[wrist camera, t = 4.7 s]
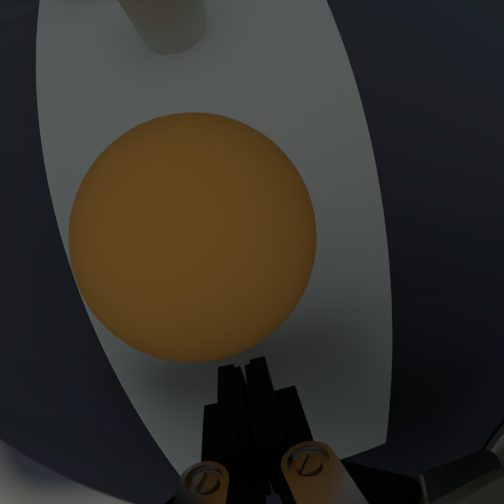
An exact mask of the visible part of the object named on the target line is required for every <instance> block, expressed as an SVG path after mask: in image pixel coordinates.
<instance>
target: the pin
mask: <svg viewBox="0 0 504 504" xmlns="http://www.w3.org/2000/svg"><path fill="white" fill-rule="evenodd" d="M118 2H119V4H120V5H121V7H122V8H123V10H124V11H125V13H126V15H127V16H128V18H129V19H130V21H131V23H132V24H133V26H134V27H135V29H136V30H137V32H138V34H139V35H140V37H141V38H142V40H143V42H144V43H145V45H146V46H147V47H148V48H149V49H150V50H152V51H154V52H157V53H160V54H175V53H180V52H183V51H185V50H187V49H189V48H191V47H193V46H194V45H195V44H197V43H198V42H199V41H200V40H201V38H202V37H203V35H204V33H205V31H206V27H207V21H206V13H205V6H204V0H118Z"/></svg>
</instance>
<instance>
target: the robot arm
mask: <svg viewBox="0 0 504 504" xmlns="http://www.w3.org/2000/svg"><path fill="white" fill-rule="evenodd" d="M245 374H246V381H245V378H244V375H243V372H242V369H241V367H240V366H238V367H235V365H234V364H229V365H224V366H219V367H218V387H217V403H214V404H208V405H205V406H204V414H203V431H202V449H201V462H199V463H196V464H193V465H192V466H190V467H188V468H187V469H186V470H185V471H184V472H183V473H182V475H181V477H180V480H179V483H178V487H177V490H176V494H175V496H174V497H172V498H171V499H170V500H168V501H167V502H166V503H164V504H267V503H266V496H267V495H271V490H270V484H269V480H270V483H271V485H272V487H273V489H274V491H275V493H276V494H279V496H280V498H281V500H282V502H283V504H504V423H503V425H502V426H501V427H500V428H499V430H498V431H497V432H496V434H495V435H494V436H493V437H492V439H491V440H490V442H489V443H488V444H487V446H486V447H485V449H484V450H482V451H478V452H475V453H473V454H470V455H468V456H465V457H463V458H460V459H458V460H455V461H452V462H450V463H447V464H444V465H441V466H438V467H435V468H432V469H429V470H426V471H422V473H421V474H420V475H417V476H413V477H408V476H406V475H401V474H396V473H391V472H386V471H382V470H378V469H374V468H370V467H366V466H362V465H358V464H354V463H351V462H347V461H344V460H341V459H339V458H338V457H337V455H336V454H335V452H334V451H333V449H332V448H331V447H330V446H329V445H327V444H325V443H323V442H318V441H314V440H313V437H312V434H311V431H310V428H309V425H308V422H307V419H306V416H305V413H304V410H303V407H302V404H301V401H300V398H299V395H298V392H297V389H296V386H295V385H293V386H290V387H286V388H282V389H278V390H274V387H273V384H272V380H271V377H270V373H269V370H268V366H267V363H266V359H265V356H263V357H259V358H255V359H250V364H247V365H245ZM246 382H247V384H246Z"/></svg>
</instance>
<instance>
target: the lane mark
mask: <svg viewBox="0 0 504 504" xmlns="http://www.w3.org/2000/svg"><path fill="white" fill-rule="evenodd" d="M204 6H205V13H206V21H207V27H206V31H205V33H204V35H203V37H202V38H201V40H200V41H199V42H198V43H197V44H195V45H194V46H193V47H191V48H189V49H187V50H185V51H183V52H180V53H175V54H160V53H157V52H154V51H152V50H150V49H149V48H148V47H147V46H146V45H145V43H144V42H143V40H142V38H141V37H140V35H139V34H138V32H137V30H136V29H135V27H134V26H133V24H132V23H131V21H130V19H129V18H128V16H127V15H126V13H125V11H124V10H123V8H122V7H121V5H120V4H119V2H118V0H40V5H39V14H38V26H37V43H36V84H37V103H38V116H39V126H40V134H41V142H42V149H43V156H44V162H45V168H46V174H47V179H48V184H49V189H50V193H51V198H52V202H53V207H54V211H55V215H56V219H57V223H58V227H59V230H60V234H61V237H62V241H63V244H64V248H65V251H66V254H67V257H68V261H69V264H70V267H71V260H70V253H69V245H68V236H69V222H70V215H71V211H72V206H73V203H74V200H75V197H76V194H77V191H78V189H79V187H80V184H81V182H82V180H83V178H84V176H85V175H86V173H87V172H88V170H89V169H90V167H91V166H92V164H93V163H94V161H95V160H96V158H97V157H98V156H99V155H100V154H101V153H102V152H103V151H104V150H105V149H106V148H107V147H108V146H109V145H110V144H111V143H112V142H114V141H115V140H116V139H118V138H119V137H120V136H121V135H123V134H124V133H125V132H127V131H129V130H130V129H132V128H134V127H136V126H137V125H139V124H141V123H144V122H146V121H149V120H152V119H154V118H157V117H161V116H165V115H170V114H175V113H186V112H199V113H211V114H216V115H221V116H226V117H229V118H232V119H234V120H237V121H240V122H242V123H244V124H246V125H248V126H250V127H252V128H254V129H256V130H257V131H259V132H261V133H262V134H264V135H265V136H266V137H268V138H269V139H270V140H272V141H273V142H274V143H275V144H276V145H277V146H278V147H279V148H280V149H281V150H282V151H283V152H284V153H285V154H286V155H287V157H288V158H289V159H290V160H291V162H292V163H293V164H294V166H295V167H296V169H297V170H298V172H299V174H300V175H301V177H302V179H303V181H304V183H305V185H306V188H307V190H308V192H309V195H310V199H311V202H312V206H313V210H314V214H315V221H316V235H317V243H316V253H315V260H314V265H313V269H312V272H311V276H310V279H309V281H308V284H307V287H306V289H305V291H304V293H303V295H302V297H301V299H300V300H299V302H298V304H297V305H296V307H295V309H294V310H293V312H292V313H291V314H290V315H289V316H288V318H287V319H286V320H285V321H284V322H283V323H282V324H281V325H280V327H279V328H278V329H277V330H275V331H274V332H273V333H272V334H271V335H270V336H268V337H267V338H266V339H264V340H263V341H261V342H260V343H258V344H257V345H255V346H254V347H252V348H250V349H248V350H246V351H244V352H242V353H239V354H237V355H234V356H231V357H228V358H224V359H220V360H216V361H210V362H201V363H182V362H173V361H167V360H162V359H159V358H156V357H153V356H150V355H148V354H145V353H143V352H140V351H138V350H136V349H134V348H132V347H130V346H129V345H127V344H126V343H124V342H123V341H122V340H120V339H119V338H117V337H116V336H114V335H113V334H112V333H111V332H110V331H109V330H108V329H107V328H106V327H105V326H104V325H103V324H102V323H101V322H100V321H99V320H98V319H97V318H96V316H95V315H94V314H93V312H92V311H91V310H90V308H89V306H88V305H87V303H86V301H85V300H84V298H83V296H82V294H81V292H80V290H79V288H78V290H79V292H80V295H81V298H82V300H83V303H84V305H85V308H86V310H87V313H88V315H89V318H90V320H91V322H92V325H93V327H94V329H95V332H96V334H97V336H98V338H99V341H100V343H101V345H102V347H103V349H104V351H105V353H106V355H107V357H108V360H109V362H110V364H111V366H112V368H113V369H114V371H115V373H116V375H117V377H118V379H119V381H120V383H121V385H122V387H123V388H124V390H125V392H126V394H127V396H128V397H129V399H130V401H131V403H132V404H133V406H134V408H135V409H136V411H137V413H138V414H139V416H140V418H141V419H142V421H143V423H144V424H145V426H146V427H147V429H148V430H149V432H150V434H151V435H152V437H153V438H154V440H155V441H156V443H157V444H158V446H159V447H160V449H161V450H162V451H163V453H164V454H165V456H166V457H167V458H168V460H169V461H170V463H171V464H172V465H173V467H174V468H175V469H176V471H177V472H178V473H179V475H180V476H181V475H182V473H183V472H184V471H185V470H186V469H187V468H188V467H190V466H192V465H193V464H196V463H199V462H201V449H202V431H203V414H204V406H205V405H208V404H214V403H217V387H218V367H219V366H224V365H229V364H234V365H235V367H238V366H240V367H241V369H242V372H243V375H244V378H245V381H246V374H245V365H247V364H250V359H255V358H259V357H263V356H265V359H266V363H267V366H268V370H269V373H270V377H271V380H272V384H273V387H274V390H278V389H282V388H286V387H290V386H293V385H295V386H296V389H297V392H298V395H299V398H300V401H301V404H302V407H303V410H304V413H305V416H306V419H307V422H308V425H309V428H310V431H311V434H312V437H313V440H314V441H318V442H323V443H325V444H327V445H329V446H330V447H331V448H332V449H333V451H334V452H335V454H336V455H337V457H338V458H339V459H343V458H346V457H349V456H352V455H355V454H358V453H360V452H363V451H366V450H369V449H371V448H374V447H376V446H379V445H381V444H384V443H386V435H387V427H388V417H389V405H390V391H391V372H392V304H391V283H390V269H389V257H388V246H387V237H386V228H385V220H384V213H383V206H382V199H381V192H380V186H379V180H378V175H377V169H376V164H375V159H374V154H373V149H372V144H371V140H370V135H369V131H368V127H367V123H366V119H365V115H364V111H363V107H362V103H361V99H360V96H359V92H358V89H357V85H356V82H355V78H354V75H353V72H352V69H351V66H350V62H349V59H348V56H347V53H346V50H345V48H344V45H343V42H342V39H341V36H340V34H339V31H338V28H337V26H336V23H335V20H334V18H333V15H332V13H331V10H330V8H329V6H328V3H327V1H326V0H204ZM71 270H72V267H71ZM72 273H73V270H72ZM73 276H74V273H73ZM74 278H75V276H74ZM75 281H76V279H75ZM76 284H77V282H76ZM77 287H78V285H77ZM246 384H247V382H246Z"/></svg>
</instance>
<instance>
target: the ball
mask: <svg viewBox="0 0 504 504" xmlns="http://www.w3.org/2000/svg"><path fill="white" fill-rule="evenodd" d="M316 243H317V235H316V221H315V214H314V210H313V206H312V202H311V199H310V195H309V192H308V190H307V188H306V185H305V183H304V181H303V179H302V177H301V175H300V174H299V172H298V170H297V169H296V167H295V166H294V164H293V163H292V162H291V160H290V159H289V158H288V157H287V155H286V154H285V153H284V152H283V151H282V150H281V149H280V148H279V147H278V146H277V145H276V144H275V143H274V142H273V141H272V140H270V139H269V138H268V137H266V136H265V135H264V134H262V133H261V132H259V131H257V130H256V129H254V128H252V127H250V126H248V125H246V124H244V123H242V122H240V121H237V120H234V119H232V118H229V117H226V116H221V115H216V114H211V113H199V112H186V113H175V114H170V115H165V116H161V117H157V118H154V119H152V120H149V121H146V122H144V123H141V124H139V125H137V126H136V127H134V128H132V129H130V130H129V131H127V132H125V133H124V134H123V135H121V136H120V137H119V138H118V139H116V140H115V141H114V142H112V143H111V144H110V145H109V146H108V147H107V148H106V149H105V150H104V151H103V152H102V153H101V154H100V155H99V156H98V157H97V158H96V160H95V161H94V163H93V164H92V166H91V167H90V169H89V170H88V172H87V173H86V175H85V176H84V178H83V180H82V182H81V184H80V187H79V189H78V191H77V194H76V197H75V200H74V203H73V206H72V211H71V215H70V222H69V236H68V245H69V253H70V260H71V267H72V270H73V273H74V276H75V279H76V282H77V285H78V288H79V290H80V292H81V294H82V296H83V298H84V300H85V301H86V303H87V305H88V306H89V308H90V310H91V311H92V312H93V314H94V315H95V316H96V318H97V319H98V320H99V321H100V322H101V323H102V324H103V325H104V326H105V327H106V328H107V329H108V330H109V331H110V332H111V333H112V334H113V335H114V336H116V337H117V338H119V339H120V340H122V341H123V342H124V343H126V344H127V345H129V346H130V347H132V348H134V349H136V350H138V351H140V352H143V353H145V354H148V355H150V356H153V357H156V358H159V359H162V360H167V361H173V362H182V363H201V362H210V361H216V360H220V359H224V358H228V357H231V356H234V355H237V354H239V353H242V352H244V351H246V350H248V349H250V348H252V347H254V346H255V345H257V344H258V343H260V342H261V341H263V340H264V339H266V338H267V337H268V336H270V335H271V334H272V333H273V332H274V331H275V330H277V329H278V328H279V327H280V325H281V324H282V323H283V322H284V321H285V320H286V319H287V318H288V316H289V315H290V314H291V313H292V312H293V310H294V309H295V307H296V305H297V304H298V302H299V300H300V299H301V297H302V295H303V293H304V291H305V289H306V287H307V284H308V281H309V279H310V276H311V272H312V269H313V265H314V260H315V253H316Z"/></svg>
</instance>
